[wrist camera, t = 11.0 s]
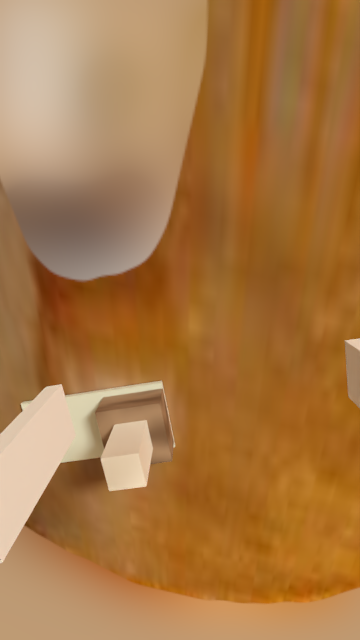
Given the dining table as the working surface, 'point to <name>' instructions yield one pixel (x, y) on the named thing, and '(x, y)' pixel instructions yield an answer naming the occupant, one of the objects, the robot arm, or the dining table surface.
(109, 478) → the white block
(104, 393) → the build board
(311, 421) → the dining table surface
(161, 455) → the plinth
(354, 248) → the dining table surface
